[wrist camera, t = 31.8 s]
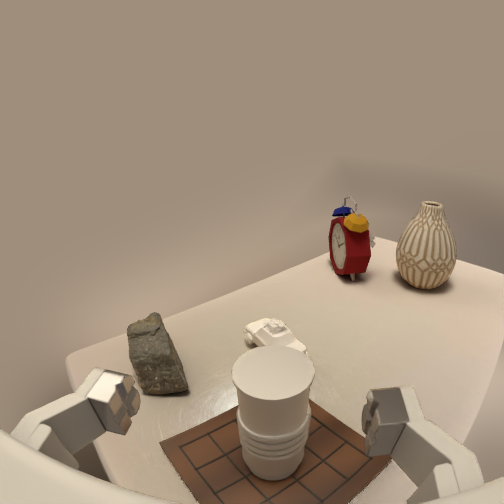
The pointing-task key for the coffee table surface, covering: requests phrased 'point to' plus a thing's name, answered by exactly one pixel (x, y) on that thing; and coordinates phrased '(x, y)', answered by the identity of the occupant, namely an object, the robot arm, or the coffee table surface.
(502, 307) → the coffee table surface
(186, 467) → the grid board
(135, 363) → the rock
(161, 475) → the coffee table surface
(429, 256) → the vase
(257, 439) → the white travel cup
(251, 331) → the toy car
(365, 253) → the alarm clock
